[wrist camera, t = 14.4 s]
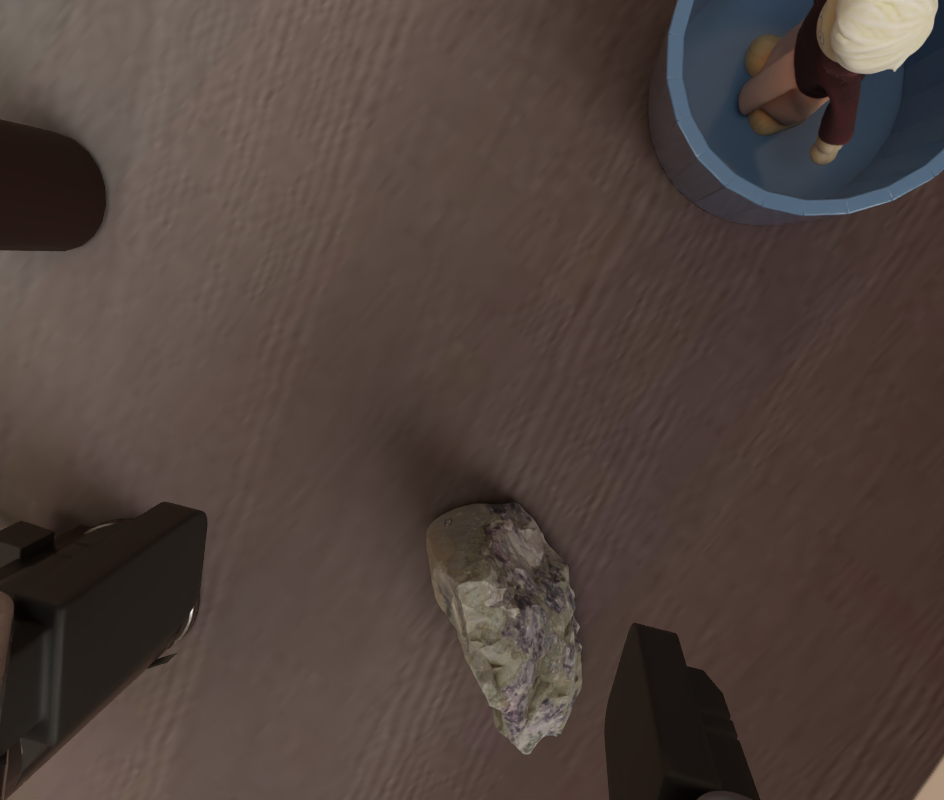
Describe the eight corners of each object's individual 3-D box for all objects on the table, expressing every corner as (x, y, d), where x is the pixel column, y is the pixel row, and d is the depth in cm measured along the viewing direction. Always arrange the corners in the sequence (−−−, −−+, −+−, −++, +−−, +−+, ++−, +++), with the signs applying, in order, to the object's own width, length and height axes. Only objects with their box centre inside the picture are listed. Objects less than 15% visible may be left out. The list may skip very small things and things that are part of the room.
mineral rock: (568, 713, 41) (562, 854, 31) (403, 664, 42) (348, 785, 33) (622, 525, 38) (633, 617, 28) (442, 478, 39) (394, 550, 30)
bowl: (618, 195, 34) (628, 176, 26) (690, -63, 31) (725, -175, 23) (855, 250, 33) (944, 248, 25) (953, -14, 30) (1090, -116, 22)
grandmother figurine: (716, 29, 31) (797, -115, 19) (801, -2, 31) (943, -174, 18) (752, 190, 33) (850, 150, 20) (835, 164, 32) (989, 107, 20)
